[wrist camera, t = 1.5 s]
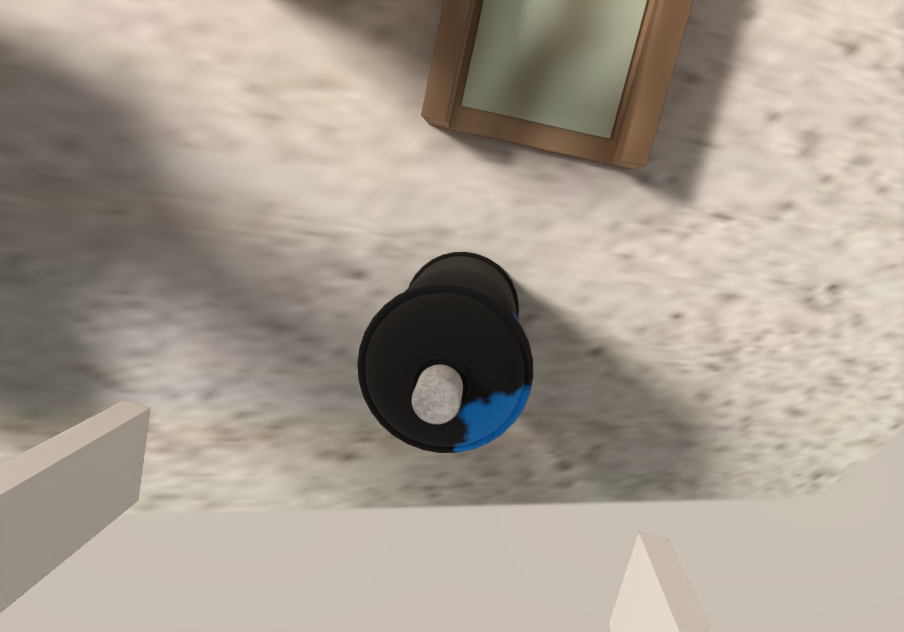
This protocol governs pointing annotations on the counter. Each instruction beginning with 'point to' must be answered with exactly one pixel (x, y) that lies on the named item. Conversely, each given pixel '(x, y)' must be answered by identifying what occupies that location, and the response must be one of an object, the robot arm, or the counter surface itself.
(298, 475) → the counter surface
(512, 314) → the aerosol can
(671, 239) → the counter surface
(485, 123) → the u rest
